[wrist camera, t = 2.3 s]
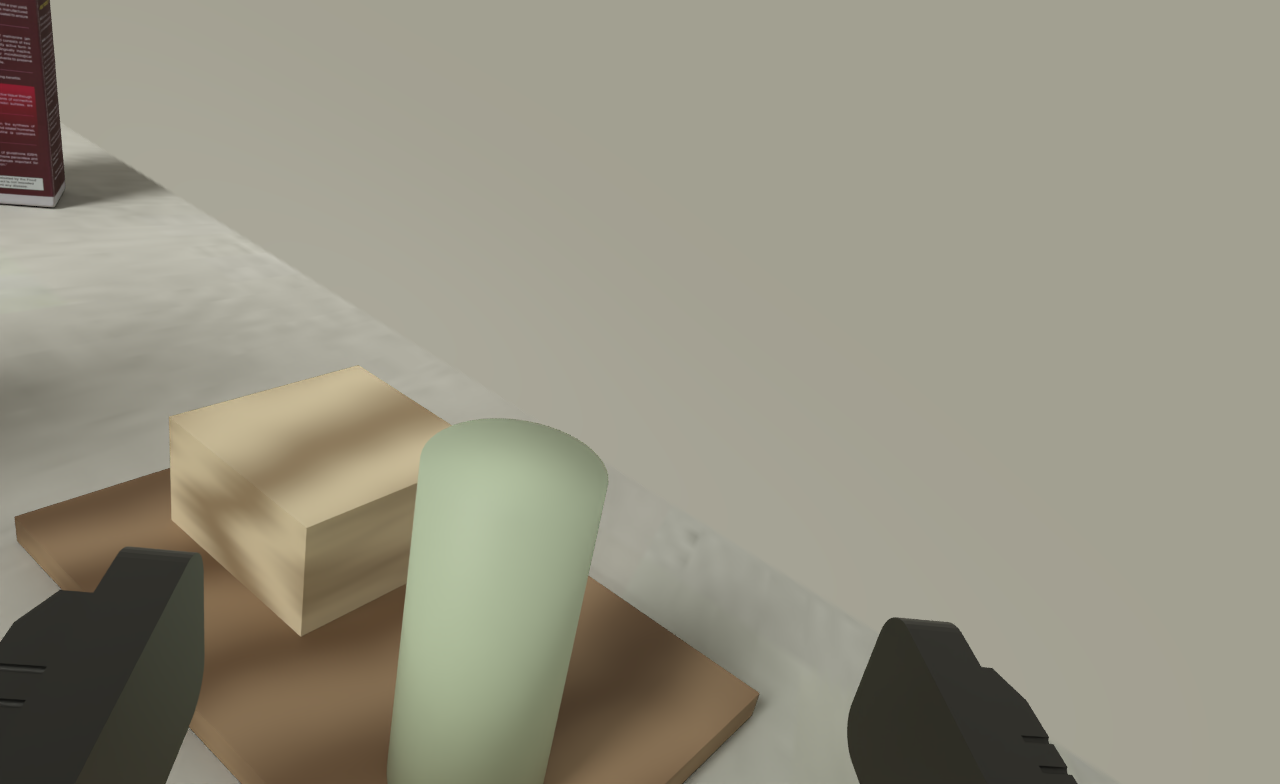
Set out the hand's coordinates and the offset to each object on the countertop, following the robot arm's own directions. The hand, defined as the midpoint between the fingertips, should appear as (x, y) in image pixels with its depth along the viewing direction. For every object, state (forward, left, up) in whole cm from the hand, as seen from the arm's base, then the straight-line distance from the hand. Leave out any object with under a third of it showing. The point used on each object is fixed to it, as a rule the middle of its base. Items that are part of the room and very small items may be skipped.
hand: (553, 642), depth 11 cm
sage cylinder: (-9, +10, -18) cm, 23 cm away
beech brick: (-22, +14, -18) cm, 32 cm away
